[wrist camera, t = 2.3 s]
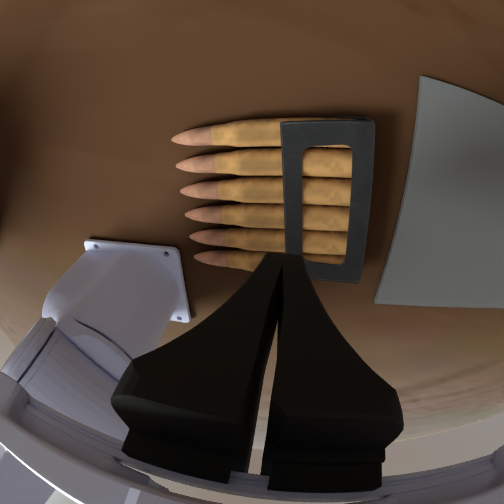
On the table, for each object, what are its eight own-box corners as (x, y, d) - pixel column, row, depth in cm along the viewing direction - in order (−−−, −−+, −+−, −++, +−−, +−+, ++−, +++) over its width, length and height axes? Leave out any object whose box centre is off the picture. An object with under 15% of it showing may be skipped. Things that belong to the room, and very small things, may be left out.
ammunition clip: (359, 284, 19) (191, 274, 22) (357, 268, 20) (200, 260, 23) (375, 120, 13) (162, 128, 16) (369, 116, 15) (176, 123, 17)
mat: (374, 300, 22) (374, 303, 22) (419, 75, 13) (422, 75, 12) (504, 305, 20) (505, 308, 20) (563, 138, 11) (565, 139, 10)
